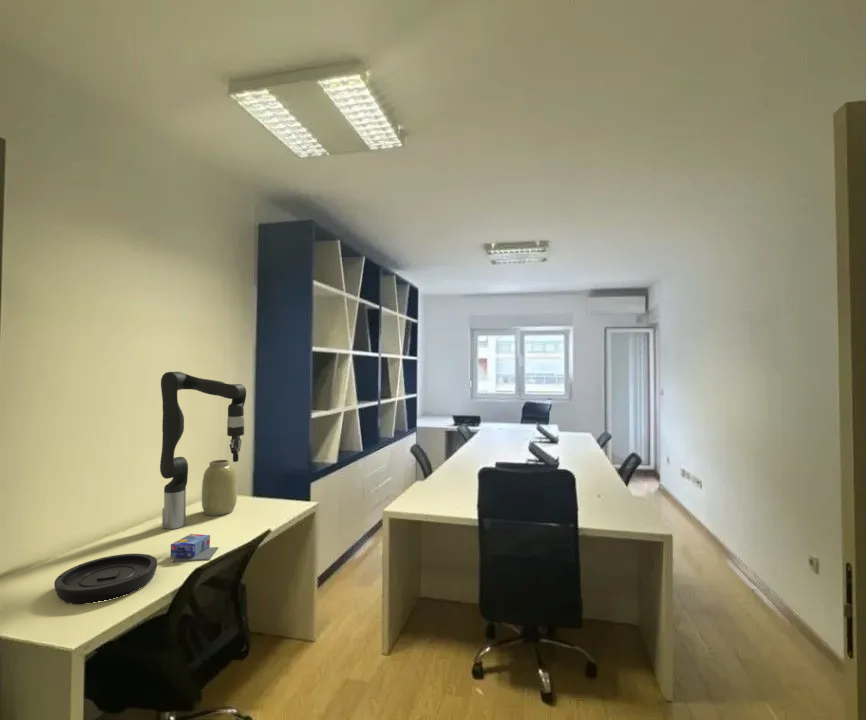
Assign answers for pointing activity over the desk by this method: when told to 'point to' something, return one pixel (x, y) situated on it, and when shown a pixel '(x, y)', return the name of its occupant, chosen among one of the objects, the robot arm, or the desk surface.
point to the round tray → (105, 578)
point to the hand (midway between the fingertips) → (235, 461)
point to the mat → (201, 556)
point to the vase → (219, 488)
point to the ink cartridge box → (190, 545)
